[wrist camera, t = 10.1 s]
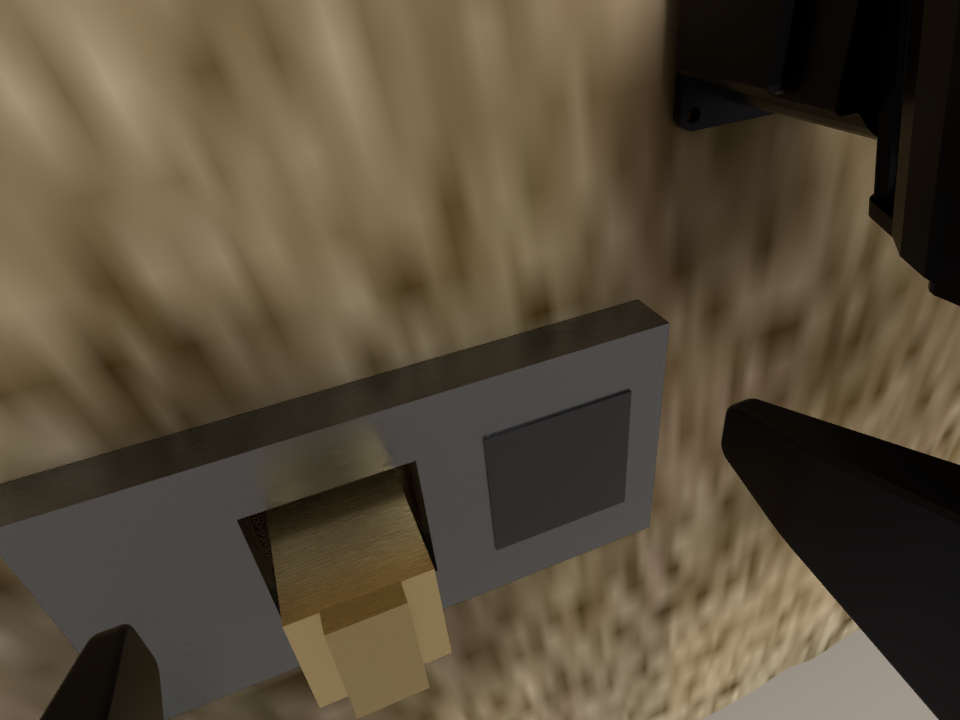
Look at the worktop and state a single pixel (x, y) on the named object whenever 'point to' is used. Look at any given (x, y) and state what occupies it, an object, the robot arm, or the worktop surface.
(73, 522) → the grey slotted board
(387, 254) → the worktop surface
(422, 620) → the stepped wooden chunk
